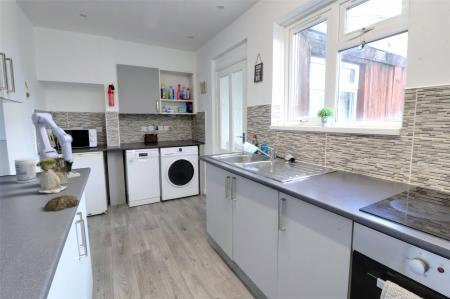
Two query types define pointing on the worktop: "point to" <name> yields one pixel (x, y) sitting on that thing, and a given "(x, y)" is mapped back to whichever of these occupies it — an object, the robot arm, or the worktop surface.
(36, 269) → the worktop surface
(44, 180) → the off-white lumpy piece
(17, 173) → the supplement tub
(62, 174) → the coffee box
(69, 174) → the panel
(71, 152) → the robot arm
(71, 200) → the bread roll
